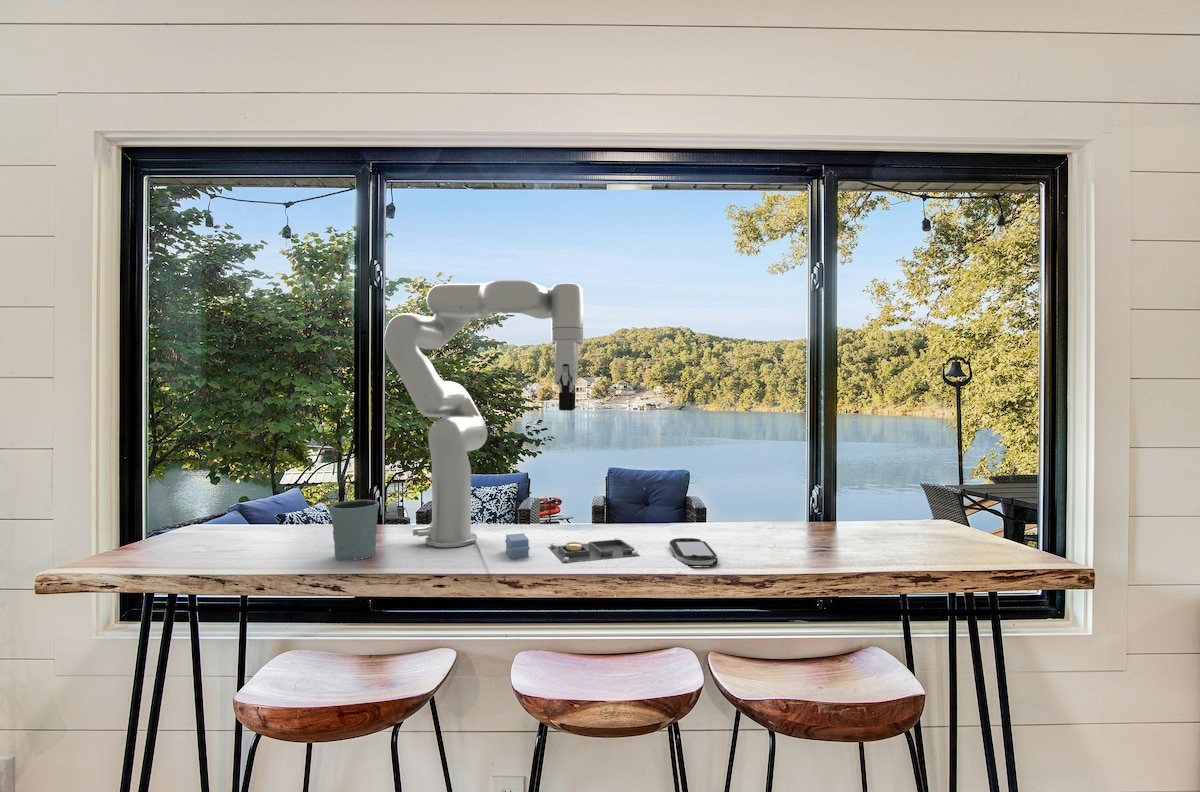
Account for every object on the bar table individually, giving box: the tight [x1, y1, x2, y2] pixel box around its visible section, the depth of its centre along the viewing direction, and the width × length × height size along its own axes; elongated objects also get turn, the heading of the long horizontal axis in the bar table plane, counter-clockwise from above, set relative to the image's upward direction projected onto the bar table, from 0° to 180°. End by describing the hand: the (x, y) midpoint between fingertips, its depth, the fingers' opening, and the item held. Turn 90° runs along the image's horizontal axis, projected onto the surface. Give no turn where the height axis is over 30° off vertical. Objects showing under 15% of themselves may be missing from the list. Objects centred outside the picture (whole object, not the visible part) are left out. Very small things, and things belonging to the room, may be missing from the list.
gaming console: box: [668, 537, 719, 567], centre depth 131 cm, size 19×9×2 cm, turn 1°
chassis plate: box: [547, 537, 641, 564], centre depth 131 cm, size 18×14×2 cm
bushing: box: [565, 541, 583, 552], centre depth 129 cm, size 4×4×2 cm
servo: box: [504, 532, 531, 560], centre depth 128 cm, size 4×8×5 cm, turn 19°
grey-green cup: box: [329, 499, 380, 561], centre depth 130 cm, size 10×10×12 cm
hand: (567, 409), depth 133 cm, fingers open, 9 cm apart
